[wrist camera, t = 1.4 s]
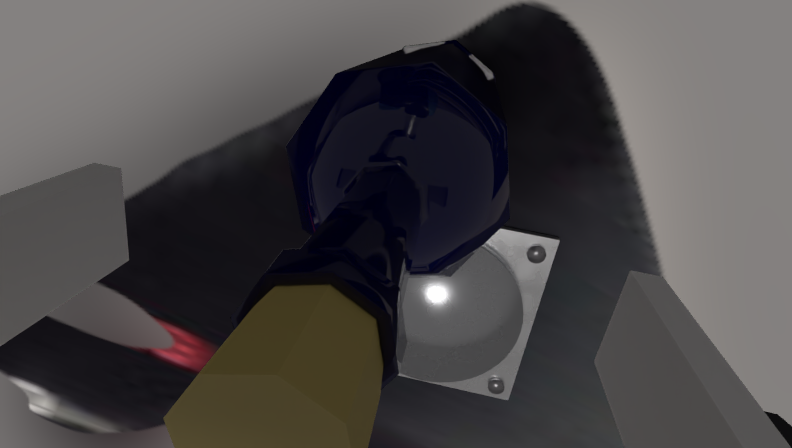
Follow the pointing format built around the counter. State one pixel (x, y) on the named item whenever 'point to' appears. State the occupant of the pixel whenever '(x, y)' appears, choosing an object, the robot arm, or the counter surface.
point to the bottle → (357, 251)
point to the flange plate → (478, 315)
